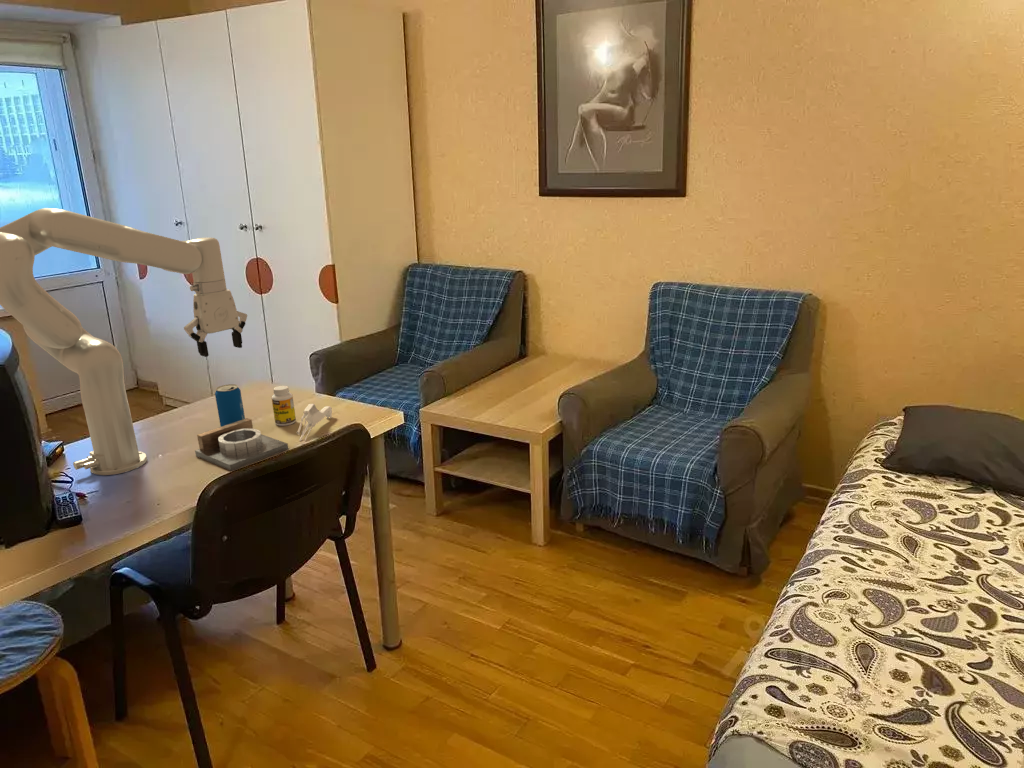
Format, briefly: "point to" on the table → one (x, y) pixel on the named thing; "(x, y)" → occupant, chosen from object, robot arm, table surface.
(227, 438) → the jig
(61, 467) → the table surface
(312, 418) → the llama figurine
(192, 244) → the robot arm
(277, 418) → the supplement bottle
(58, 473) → the table surface
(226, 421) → the beverage can
